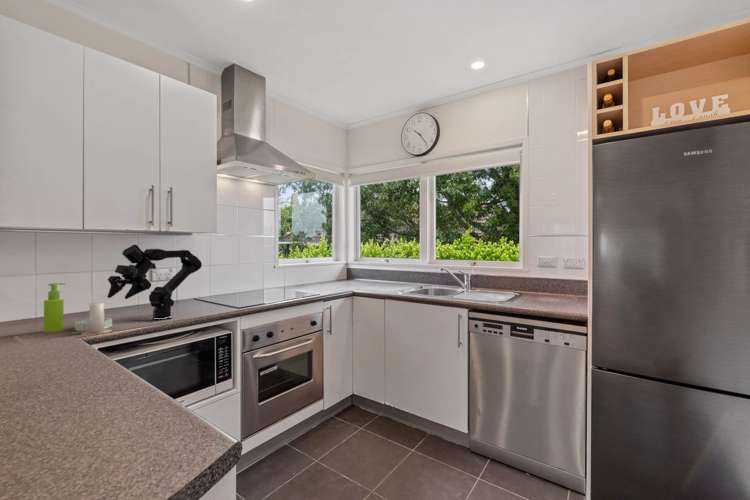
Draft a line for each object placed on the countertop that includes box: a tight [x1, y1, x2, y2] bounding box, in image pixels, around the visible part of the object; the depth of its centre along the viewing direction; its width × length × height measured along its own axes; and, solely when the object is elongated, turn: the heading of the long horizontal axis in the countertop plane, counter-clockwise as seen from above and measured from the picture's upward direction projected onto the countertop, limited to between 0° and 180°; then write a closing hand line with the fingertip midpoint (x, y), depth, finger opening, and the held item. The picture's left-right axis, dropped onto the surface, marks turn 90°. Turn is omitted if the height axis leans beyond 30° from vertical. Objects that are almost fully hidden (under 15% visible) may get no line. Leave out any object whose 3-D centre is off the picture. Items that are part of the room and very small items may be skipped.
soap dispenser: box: [43, 282, 66, 333], centre depth 142 cm, size 6×7×20 cm
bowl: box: [74, 317, 113, 332], centre depth 146 cm, size 12×12×4 cm
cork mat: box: [80, 328, 113, 336], centre depth 138 cm, size 10×10×1 cm
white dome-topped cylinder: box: [89, 302, 105, 333], centre depth 138 cm, size 5×5×12 cm
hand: (116, 297), depth 147 cm, fingers open, 9 cm apart
